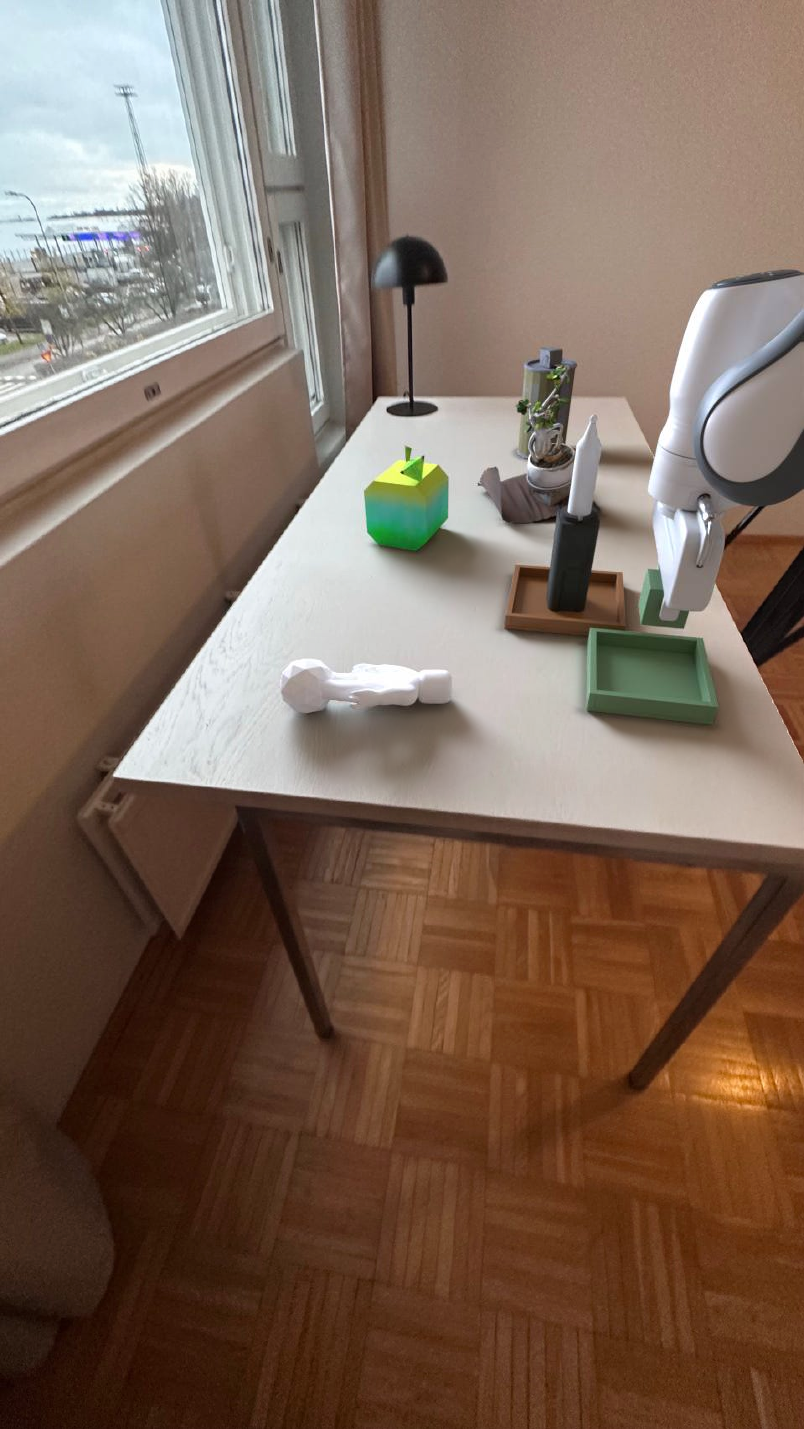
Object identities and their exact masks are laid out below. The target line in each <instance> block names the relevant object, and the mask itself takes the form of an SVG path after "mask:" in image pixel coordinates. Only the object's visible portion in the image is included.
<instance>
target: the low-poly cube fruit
mask: <svg viewBox="0 0 804 1429" xmlns="http://www.w3.org/2000/svg"><path fill="white" fill-rule="evenodd" d="M412 450H413V448H412V447H409V446H407V445H404V453H405V458H404V459H398V460H397V461H396V462H394V463H393V464H392V465H391V466H390V467H388V468H387V469H386V470H384V471H383V472H382V473H381V474H380V475H378V476H377V477H376V478H375V479H373V480H372V481H371V483H370V484H369V485H368V486H367V487H366V488H365V489H364V490H363V496H364V508H365V509H364V510H365V521H366V522H365V523H366V533H367V534H368V536H370V537H371V538H372V540H373V541H374V542H375V543H376V544H377V545H379V546H385V547H392V548H398V549H403V550H409V551H413V552H414V551H415V552H417V551H418V550H419V549H420V548H422V547H423V546H424V545H425V544H426V543H427V542H428V541H429V540H430V539H431V538H432V537H433V536H434V535H435V534H436V533H437V532H438V530H439V529H440V528H441V527H442V526H443V525H444V523H446V521H447V520H448V519H449V489H450V488H449V487H450V485H449V483H450V482H449V481H450V479H449V475H448V474H447V473H446V471H445V470H443V468H442V467H441V466H440V464H437V463H428V462H425V455H421V456H418V457H414V458H411V456H412Z"/></svg>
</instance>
